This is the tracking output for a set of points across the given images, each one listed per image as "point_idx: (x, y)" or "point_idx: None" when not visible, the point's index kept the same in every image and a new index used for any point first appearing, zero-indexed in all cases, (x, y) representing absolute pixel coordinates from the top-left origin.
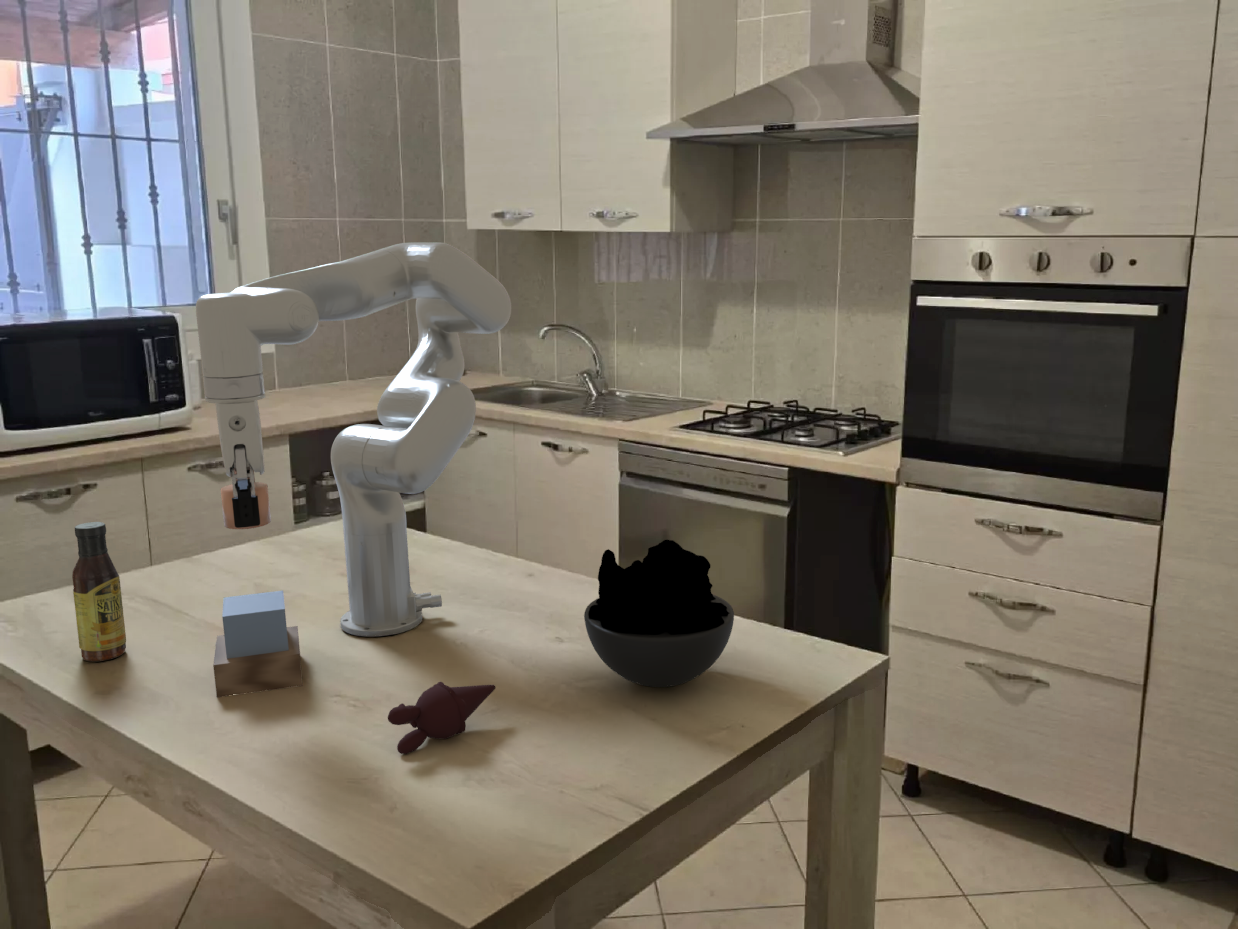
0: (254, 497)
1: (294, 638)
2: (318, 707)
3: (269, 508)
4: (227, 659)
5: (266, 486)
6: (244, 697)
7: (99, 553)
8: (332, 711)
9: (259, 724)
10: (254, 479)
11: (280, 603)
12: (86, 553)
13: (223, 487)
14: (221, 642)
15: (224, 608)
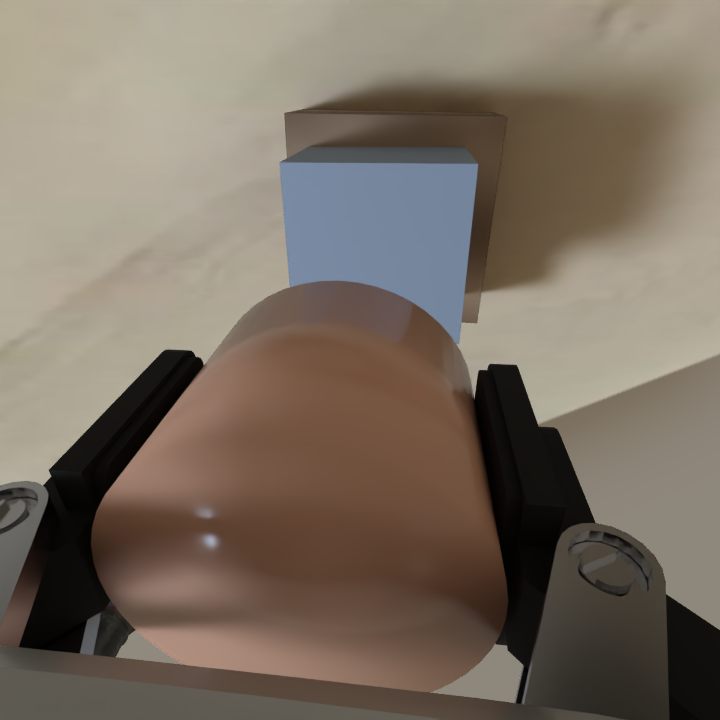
0: (560, 522)
1: (380, 126)
2: (647, 77)
3: (345, 321)
4: None
5: (333, 447)
6: (496, 243)
7: (117, 620)
8: (695, 39)
9: (653, 217)
10: (39, 526)
11: (413, 176)
12: (124, 640)
13: None
14: None
15: None
